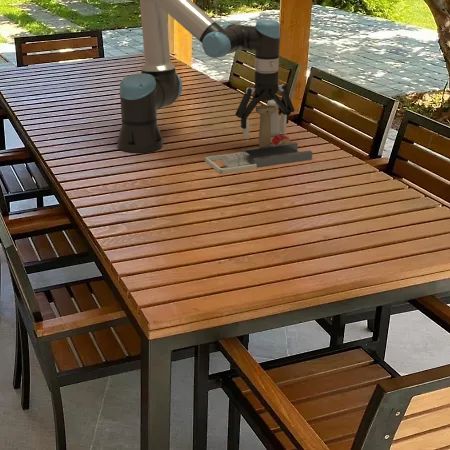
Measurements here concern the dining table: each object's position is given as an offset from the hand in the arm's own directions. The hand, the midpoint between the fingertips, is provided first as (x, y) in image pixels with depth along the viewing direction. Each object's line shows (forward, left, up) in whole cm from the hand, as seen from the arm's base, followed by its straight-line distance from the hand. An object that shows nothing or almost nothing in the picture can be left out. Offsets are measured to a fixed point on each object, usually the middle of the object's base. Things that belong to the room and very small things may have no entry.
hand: (264, 135), depth 236 cm
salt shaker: (+10, +14, -6) cm, 18 cm away
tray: (-17, -10, -5) cm, 20 cm away
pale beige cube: (-13, -10, -5) cm, 17 cm away
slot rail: (-1, -10, -5) cm, 12 cm away
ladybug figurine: (+8, +3, -6) cm, 11 cm away
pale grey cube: (-17, -11, -5) cm, 21 cm away
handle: (0, 0, -6) cm, 6 cm away
